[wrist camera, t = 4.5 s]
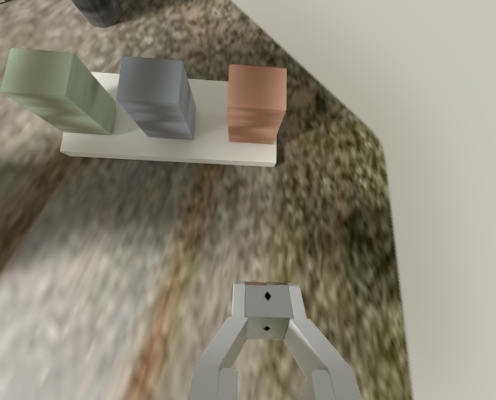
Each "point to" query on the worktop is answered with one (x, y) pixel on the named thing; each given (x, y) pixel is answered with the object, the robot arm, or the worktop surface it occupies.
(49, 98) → the sage green block
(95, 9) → the beverage cup
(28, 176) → the worktop surface
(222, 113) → the base
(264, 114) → the pink tall block
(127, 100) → the grey tall block
